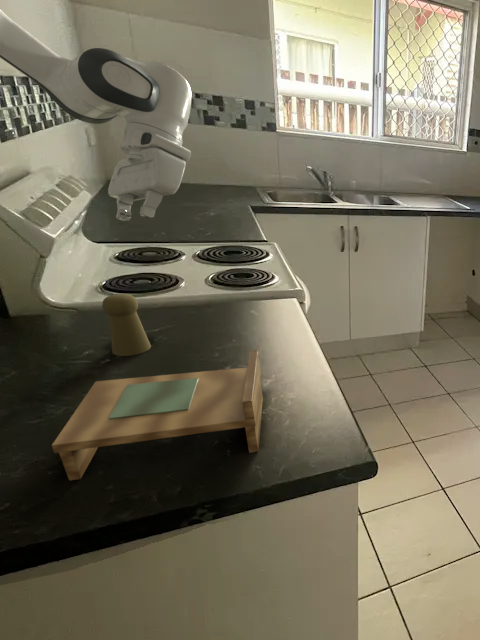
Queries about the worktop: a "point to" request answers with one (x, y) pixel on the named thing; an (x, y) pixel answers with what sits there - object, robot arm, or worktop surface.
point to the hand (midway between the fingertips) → (134, 218)
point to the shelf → (162, 411)
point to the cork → (125, 325)
